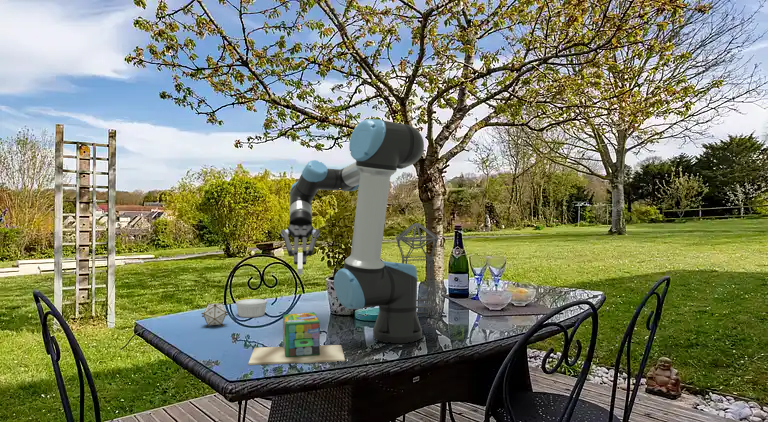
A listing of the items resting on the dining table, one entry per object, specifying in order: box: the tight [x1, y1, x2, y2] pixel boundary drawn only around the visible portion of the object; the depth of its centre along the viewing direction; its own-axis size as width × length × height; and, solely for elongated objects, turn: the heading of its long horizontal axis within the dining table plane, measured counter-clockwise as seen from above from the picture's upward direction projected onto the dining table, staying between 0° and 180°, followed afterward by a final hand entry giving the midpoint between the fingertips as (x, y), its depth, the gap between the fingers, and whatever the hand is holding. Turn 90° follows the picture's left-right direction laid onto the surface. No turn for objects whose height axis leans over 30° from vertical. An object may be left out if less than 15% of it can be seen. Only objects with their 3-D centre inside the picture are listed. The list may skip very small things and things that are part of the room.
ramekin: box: [235, 298, 268, 319], centre depth 180 cm, size 11×11×5 cm
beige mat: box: [248, 344, 346, 366], centre depth 129 cm, size 24×14×1 cm, turn 99°
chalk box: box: [282, 311, 321, 357], centre depth 130 cm, size 9×9×15 cm
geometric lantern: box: [394, 222, 441, 316], centre depth 182 cm, size 16×16×35 cm
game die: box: [200, 301, 229, 328], centre depth 161 cm, size 9×8×10 cm
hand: (300, 271), depth 147 cm, fingers closed
